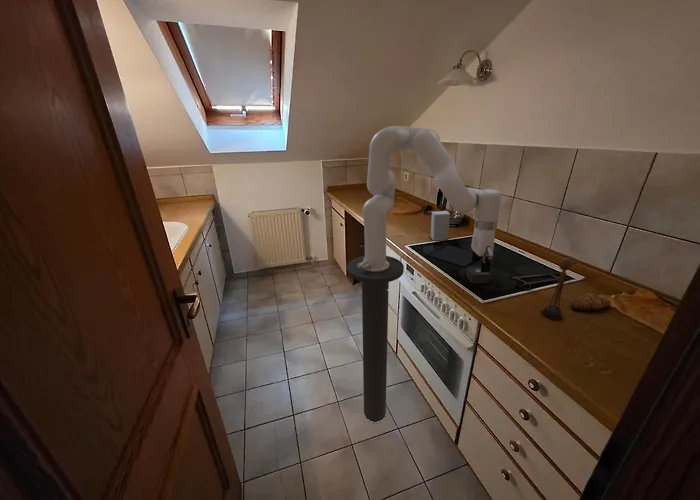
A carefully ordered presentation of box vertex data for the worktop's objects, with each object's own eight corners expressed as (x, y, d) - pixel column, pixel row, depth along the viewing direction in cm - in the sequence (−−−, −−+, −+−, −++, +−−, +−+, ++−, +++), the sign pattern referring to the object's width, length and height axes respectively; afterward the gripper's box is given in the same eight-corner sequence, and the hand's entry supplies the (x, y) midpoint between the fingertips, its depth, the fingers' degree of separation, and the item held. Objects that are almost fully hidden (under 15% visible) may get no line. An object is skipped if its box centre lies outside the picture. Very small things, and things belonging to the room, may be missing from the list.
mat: (464, 267, 128) (464, 266, 128) (428, 255, 141) (428, 255, 140) (483, 255, 139) (483, 254, 139) (448, 245, 152) (448, 244, 152)
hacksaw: (563, 273, 120) (564, 270, 120) (584, 286, 111) (585, 282, 110) (506, 277, 118) (507, 274, 118) (523, 290, 109) (524, 287, 108)
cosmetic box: (444, 236, 164) (447, 210, 158) (448, 240, 158) (451, 213, 152) (429, 237, 164) (431, 210, 158) (432, 241, 158) (434, 213, 153)
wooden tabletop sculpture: (554, 309, 97) (569, 253, 90) (567, 317, 93) (584, 259, 86) (539, 312, 96) (554, 256, 88) (552, 320, 92) (568, 262, 84)
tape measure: (488, 283, 115) (490, 274, 113) (471, 283, 115) (472, 274, 113) (481, 274, 121) (482, 266, 120) (465, 274, 122) (466, 266, 120)
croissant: (598, 299, 102) (602, 287, 100) (617, 310, 96) (622, 297, 94) (563, 304, 100) (567, 291, 98) (581, 315, 94) (585, 302, 92)
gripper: (467, 217, 117) (463, 257, 123) (484, 231, 101) (478, 276, 107) (487, 217, 117) (481, 257, 123) (506, 231, 101) (499, 276, 107)
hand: (480, 266), depth 115 cm, fingers open, 9 cm apart
